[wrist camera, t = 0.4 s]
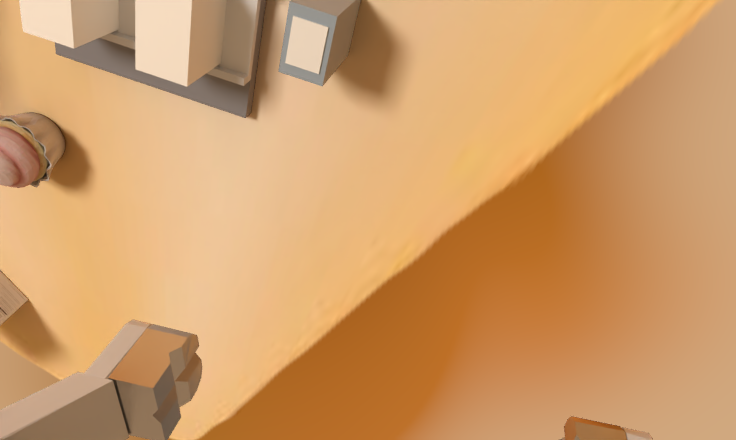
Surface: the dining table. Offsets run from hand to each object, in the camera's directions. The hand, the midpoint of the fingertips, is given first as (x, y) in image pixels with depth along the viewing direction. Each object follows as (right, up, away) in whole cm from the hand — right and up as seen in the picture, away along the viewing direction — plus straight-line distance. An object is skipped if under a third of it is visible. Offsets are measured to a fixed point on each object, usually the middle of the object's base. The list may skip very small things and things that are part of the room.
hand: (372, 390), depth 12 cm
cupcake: (-41, +14, +56) cm, 71 cm away
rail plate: (-21, +26, +43) cm, 55 cm away
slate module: (-3, +23, +40) cm, 47 cm away
